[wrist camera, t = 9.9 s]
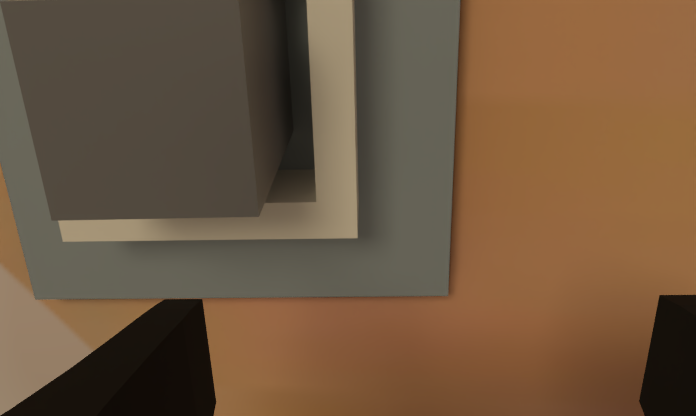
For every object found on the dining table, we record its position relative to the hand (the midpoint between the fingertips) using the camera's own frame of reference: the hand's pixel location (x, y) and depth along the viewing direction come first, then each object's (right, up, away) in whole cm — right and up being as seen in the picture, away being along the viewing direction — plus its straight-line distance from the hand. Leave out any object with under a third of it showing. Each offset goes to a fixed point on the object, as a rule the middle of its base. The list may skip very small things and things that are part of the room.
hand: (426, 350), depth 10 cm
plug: (-5, +6, +7) cm, 10 cm away
